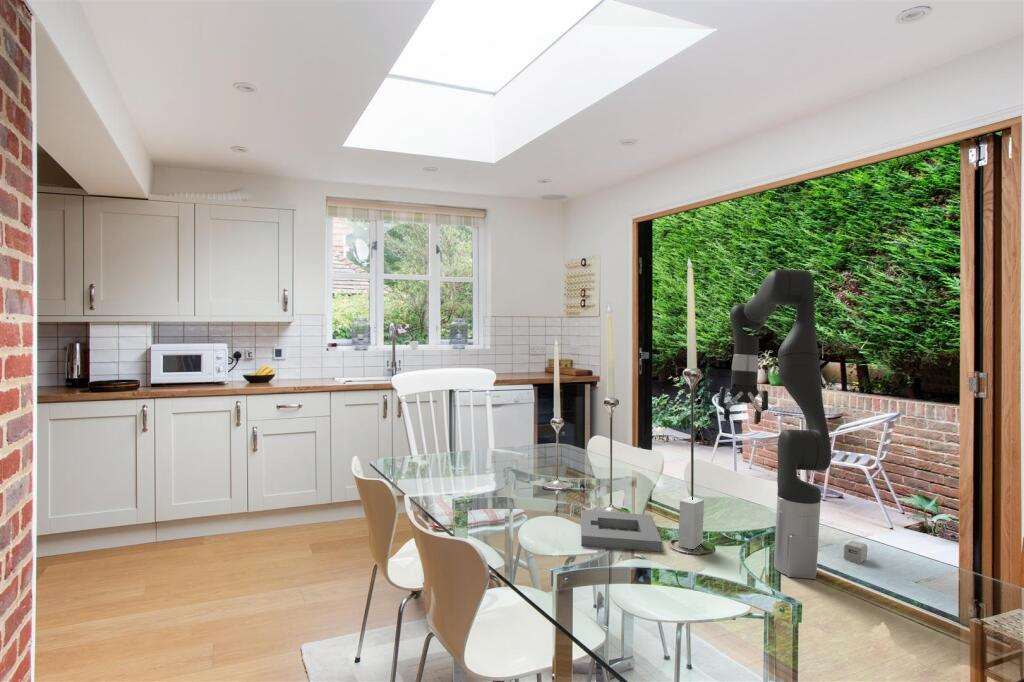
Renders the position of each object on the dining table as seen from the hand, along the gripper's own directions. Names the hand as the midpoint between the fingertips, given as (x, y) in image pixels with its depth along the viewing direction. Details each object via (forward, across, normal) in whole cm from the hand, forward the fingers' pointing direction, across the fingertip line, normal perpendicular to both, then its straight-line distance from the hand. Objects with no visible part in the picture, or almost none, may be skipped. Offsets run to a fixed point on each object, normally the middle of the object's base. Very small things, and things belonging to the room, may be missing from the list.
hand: (741, 422), depth 188 cm
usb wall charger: (+30, +22, -30) cm, 48 cm away
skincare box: (+31, -19, -30) cm, 47 cm away
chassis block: (+31, -37, -26) cm, 54 cm away
